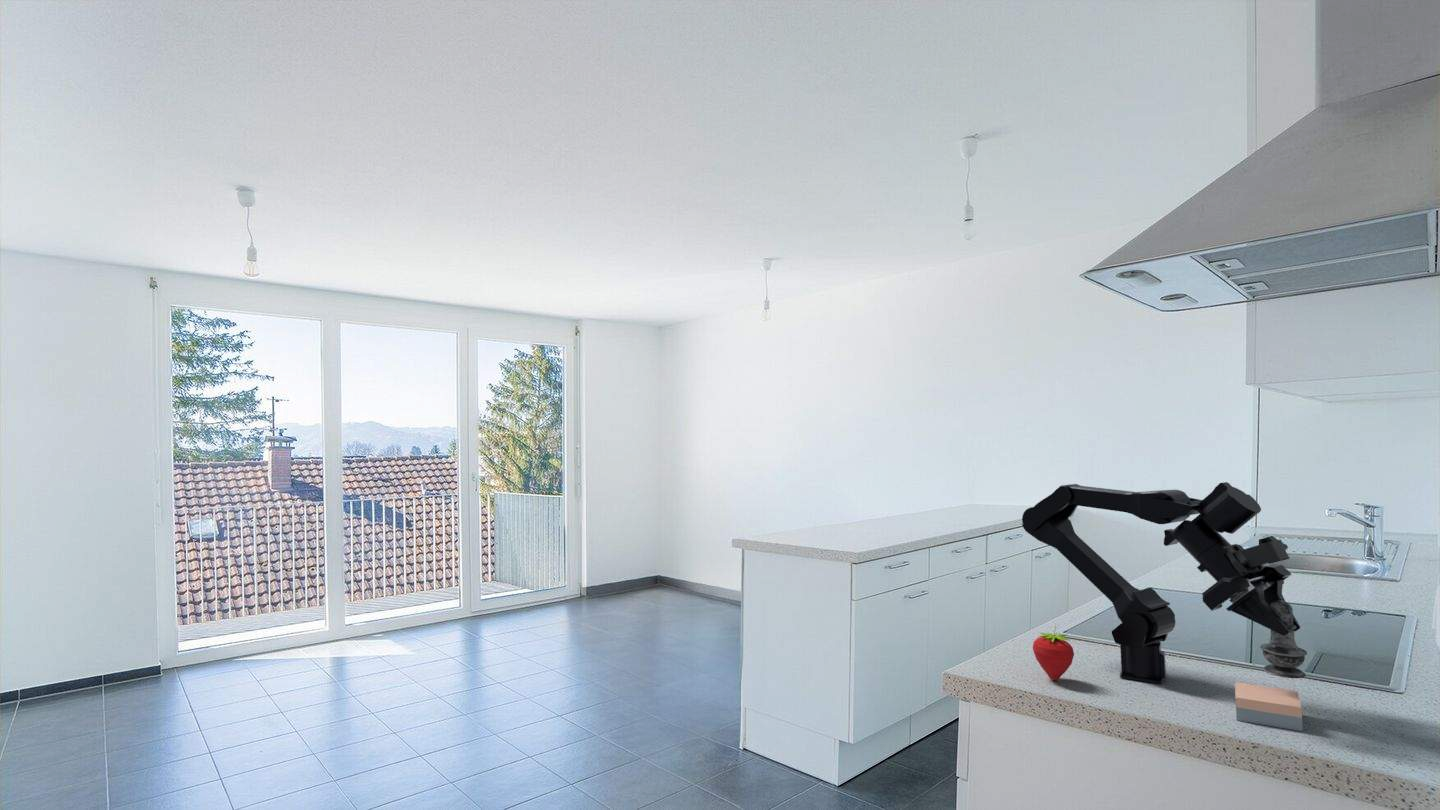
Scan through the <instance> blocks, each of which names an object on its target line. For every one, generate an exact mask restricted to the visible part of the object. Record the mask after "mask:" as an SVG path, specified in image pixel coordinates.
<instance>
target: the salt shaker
mask: <svg viewBox="0 0 1440 810" xmlns="http://www.w3.org/2000/svg"><path fill="white" fill-rule="evenodd" d="M1283 597H1284V596H1283ZM1283 597H1282V596H1280V597H1279V598H1278V599H1279V600H1278V601H1275V602H1273V603H1271V605H1270V607H1271V608H1272V609H1273V611H1274V612H1275V613H1276V614H1277V616H1278V617H1279V618H1280V619H1281V620H1282V622H1283V623H1284V624H1285V626H1286V627H1287V628H1288V630H1289V631H1290V632H1289V633H1288V634H1287V635H1285V636H1283V635H1281V634H1279V633H1277V632H1275V631H1273V630H1271V629H1270V639H1269V641H1268V643H1262V644H1260V645H1259V648H1260V649H1261V650H1262V655H1263V656H1264V659H1266V661H1268V662H1269V664H1267V665H1266V666H1264V667H1262V668H1263V669H1262V670H1263V671H1264V672H1265V673H1267V674H1268V675H1269V674H1270V675H1272V676H1276V677H1281V678H1285V679H1286V678H1288V679H1303V678H1305V677H1306V673H1305V672H1304V671H1302V670H1301V669H1299V667H1300V666H1301V665H1303V664H1304V662H1305V659H1306V658H1305V657H1306V656H1307V655H1308V652H1307V650H1305V649H1303V648H1301V647H1300V646H1298V645H1297V642H1296V640H1295V631H1294V629H1295V628H1297V627H1296V626H1295V625H1294V624H1293V615H1294V613H1293V612H1294V611H1293V606H1292V605H1291V604H1290V603H1289V602H1287V601H1286V600H1285V601H1286V602H1285V601H1283V599H1285V597H1284V598H1283Z"/></svg>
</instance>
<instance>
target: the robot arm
mask: <svg viewBox="0 0 1440 810" xmlns="http://www.w3.org/2000/svg"><path fill="white" fill-rule="evenodd" d="M1079 506H1080V507H1086V508H1092V509H1101V510H1109V511H1113V512H1123V513H1127V514H1131V515H1133V516H1135V517H1136V518H1139V519H1141V520H1144V521H1148V522H1149V523H1153V524H1157V525H1167V524H1168V525H1169V524H1173V523H1179V522H1181V523H1180V524H1178V525H1177V526H1175V528H1174V529H1173V528H1169V529H1164V530H1163V533H1164V538H1163V545H1164V546H1165V547H1168V546H1172V545H1177V544H1178V543H1179V544H1180V545H1181V546H1182V547H1183V549H1185V551H1187V552H1188V553H1189V555H1190V556H1191V557H1193V559H1194V560H1195V561H1196V562H1198V564H1199V565H1198V566H1197V567H1196V568H1197V569H1198V570H1199V572H1200V573H1205V572H1207V573H1208V574H1209V575H1210V576H1211V577H1212V578H1213V579H1214V581H1216V582H1215V583H1214V584H1212V585H1211V586H1210V587H1208V588H1207V589H1205V590H1204V591H1203V592H1202V602H1203V603H1204V604H1205V606H1207V608H1208V609H1209V610H1210V611H1216V610H1220V609H1221V608H1222V607H1223V603H1225V602H1227V601H1228V600H1229V602H1230V603H1231V604H1230V605H1228V606H1227V607H1226V608H1225V609H1226V611H1228V612H1233V613H1235V614H1237V615H1239V616H1241V617H1243V618H1246V619H1248V620H1250V621H1252V622H1254V623H1257V624H1259V625H1261V626H1262V627H1264V628H1267V629H1268V630H1270V631H1271V630H1273V631H1275V632H1277V633H1279V634H1281V635H1283V636H1285V635H1287V634H1288V633H1289V632H1290V631H1289V630H1288V628H1287V627H1286V626H1285V624H1284V623H1283V622H1282V620H1281V619H1280V618H1279V617H1278V616H1277V614H1276V613H1275V612H1274V611H1273V609H1272V608H1271V607H1270V605H1271V603H1273V602H1275V601H1278V600H1279V599H1278V598H1279V597H1280V596H1282V597H1283V598H1284V599H1283V601H1285V602H1286V603H1287V601H1286V600H1285V597H1284V596H1283V586H1284V584H1285V580H1286V579H1288V578H1289V577H1290V576H1292V573H1291V572H1290V571H1289V570H1288V569H1287V568H1286V567H1285V566H1284V565H1283V564H1278V562H1281V561H1286V560H1289V559H1290V557H1289V554H1288V552H1287V551H1286V550H1288V544H1286V543H1284V542H1283V541H1282V539H1277V538H1276V537H1275V536H1274V535H1270V536H1266V537H1263V538H1259V539H1258V544H1257V545H1254V546H1251V547H1247V548H1244V547H1243V546H1242V545H1240V544H1237V543H1235V544H1232V543H1230V541H1228V540H1227V539H1226V538H1225V537H1224V536H1223V535H1221V534H1223V533H1227V534H1234V533H1236V532H1237V531H1238V530H1240V529H1241V527H1244V526H1245V525H1246V524H1247V523H1248V522H1249V521H1250V520H1252V519H1253V518H1254V517H1256V516H1258V514H1259V513H1260V512H1262V507H1261V506H1260V504H1259V503H1258V502H1257V501H1256V499H1255V498H1254V497H1252V495H1250V494H1247V493H1246V492H1244V491H1242V490H1241V489H1240V488H1238V487H1234V486H1233V485H1231V484H1230V483H1229V482H1227V481H1225V482H1220V483H1218V485H1216V486H1215V488H1214V489H1213V490H1212V492H1210V493H1209V494H1208V495H1206V496H1205V497H1204V498H1203V499H1200V498H1193V497H1190V496H1189V495H1187V493H1186V492H1185V491H1182V490H1180V489H1163V490H1161V489H1160V490H1146V491H1131V490H1121V489H1113V488H1104V487H1103V488H1102V487H1094V486H1086V485H1085V486H1084V485H1080V484H1078V483H1073V484H1072V483H1071V484H1061V485H1060V486H1059V487H1057V488H1056V489H1055V490H1054V491H1053V492H1052V493H1051V494H1049V495H1048V496H1046V497H1045V498H1043V499H1041V500H1040V501H1038V502H1037V503H1036V504H1035V505H1034V506H1032V507H1031V506H1030V507H1028V508H1026V509H1025V510H1024V512H1023V513H1022V517H1021V521H1022V523H1021V526H1022V528H1023V530H1024V531H1025V532H1026V533H1027V534H1029V535H1030V536H1032V537H1033V538H1035V539H1036V540H1037V541H1039V542H1041V543H1043V544H1046V545H1047V546H1050V547H1052V548H1054V549H1055V550H1057V551H1058V552H1059V553H1060V554H1061V555H1062V556H1063V557H1064V558H1065V559H1066V560H1067V561H1069V563H1071V564H1072V566H1073V567H1075V568H1076V569H1077V570H1078V572H1080V573H1081V574H1082V575H1083V576H1084V577H1085V578H1086V579H1087V580H1088V581H1089V582H1090V583H1092V585H1094V587H1096V588H1097V590H1099V591H1100V593H1102V594H1103V595H1104V596H1105V597H1106V598H1107V599H1108V600H1109V601H1110V602H1111V603H1112V606H1113V607H1114V610H1115V613H1116V615H1117V617H1118V619H1119V620H1120V622H1121V623H1120V624H1119V625H1117V626H1116V627H1115V628H1113V630H1111V635H1112V638H1113V641H1114V643H1115V644H1118V645H1120V646H1119V647H1120V666H1121V667H1120V668H1121V671H1120V673H1119V678H1121V679H1126V680H1134V681H1140V682H1146V683H1153V684H1162V683H1163V679H1165V678H1166V675H1167V667H1166V666H1167V664H1166V663H1167V662H1166V652H1165V651H1164V650H1162V642H1165V641H1166V640H1167V637H1168V635H1169V634H1170V633H1171V632H1172V631H1174V630H1175V629H1174V628H1175V626H1176V615H1175V612H1174V611H1173V609H1171V607H1170V606H1171V603H1170V602H1168V601H1166V600H1165V599H1164V598H1162V597H1161V596H1160V595H1159V594H1158V593H1157V591H1156V590H1155V589H1153V587H1147V588H1143V589H1139V588H1137V587H1135V586H1133V584H1131V583H1130V582H1128V580H1127V579H1125V578H1124V577H1123V576H1122V575H1121V574H1120V573H1119V572H1118V571H1117V570H1116V569H1114V568H1113V566H1111V565H1110V564H1109V563H1108V562H1107V561H1106V560H1104V558H1102V557H1101V556H1100V555H1099V554H1098V553H1097V552H1096V551H1095V550H1093V548H1092V547H1090V545H1088V544H1087V543H1086V542H1085V541H1084V540H1083V539H1082V538H1080V537H1079V535H1078V534H1076V532H1075V530H1074V526H1073V524H1072V520H1070V517H1072V516H1073V514H1074V513H1075V511H1076V510H1077V508H1078V507H1079ZM1191 515H1197V516H1196V517H1194V518H1193V519H1191V520H1189V518H1190V517H1191ZM1276 563H1277V564H1276ZM1266 564H1268V565H1266ZM1293 624H1294V625H1295V626H1296V627H1297V628H1295V629H1294V632H1297V631H1299V630H1300V629H1301V626H1300V624H1299V622H1298V621H1297V619H1296V617H1295V615H1294V614H1293Z"/></svg>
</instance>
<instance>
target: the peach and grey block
mask: <svg viewBox="0 0 1440 810" xmlns="http://www.w3.org/2000/svg"><path fill="white" fill-rule="evenodd" d="M1234 689H1235V691H1234V692H1235V694H1234V695H1235V697H1234V698H1235V713H1236V721H1240V722H1245V723H1250V724H1256V725H1262V726H1268V727H1273V728H1274V727H1275V728H1280V729H1286V730H1292V731H1298V732H1304V726H1303V724H1304V723H1303V711H1302V709H1303V708H1302V704H1301V700H1300V695H1299V692H1298V690H1293V689H1285V688H1279V687H1273V686H1265V685H1264V686H1263V685H1259V684H1250V683H1246V682H1245V683H1244V682H1237V681H1236V682H1234Z"/></svg>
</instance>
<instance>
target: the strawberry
mask: <svg viewBox="0 0 1440 810" xmlns="http://www.w3.org/2000/svg"><path fill="white" fill-rule="evenodd" d="M1056 629H1057V625H1055V627H1054V630H1053V631H1054V632H1053V633H1050V632H1047V633H1046V632H1039V634H1040V636H1038V637H1037V638H1036V639H1035V640H1033V644H1032V651H1033V655H1034V657H1035V660H1036V661H1037V662H1038V663H1039V665H1040V667H1041V668H1042V669H1043V671H1044V672H1045V674H1046V675H1047V676H1048V678H1049V679H1050V680H1051V679H1053V680H1056V681H1058V680H1059V679H1060V678H1061V677H1062V676H1063V675H1064V674H1065V673H1066V672H1067V670H1068V669H1069V668H1070V666H1071V665H1072V664H1073V659H1074V656H1075V652H1074V649H1073V646H1072V645H1071V644H1070V642H1068V641H1070V639H1069V638H1067V637H1066V636H1068V634H1062V633H1057V634H1056ZM1053 680H1052V681H1053Z"/></svg>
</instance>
